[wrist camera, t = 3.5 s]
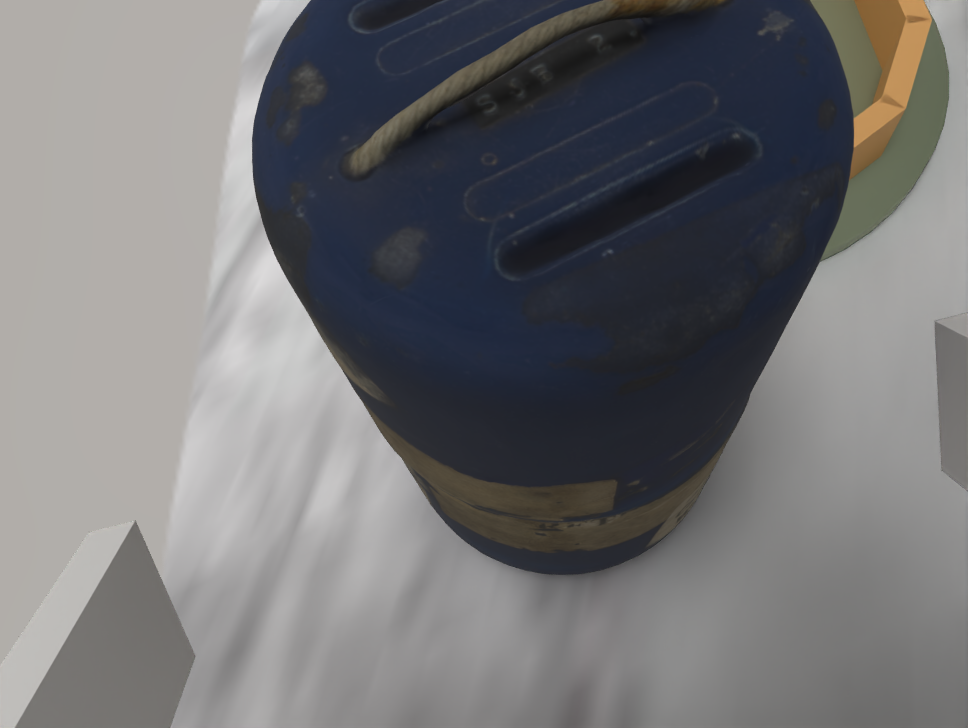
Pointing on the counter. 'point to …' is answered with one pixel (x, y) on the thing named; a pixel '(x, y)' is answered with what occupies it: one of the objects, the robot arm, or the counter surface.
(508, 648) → the counter surface
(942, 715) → the counter surface
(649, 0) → the canister
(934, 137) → the green orange round dish
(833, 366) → the counter surface
